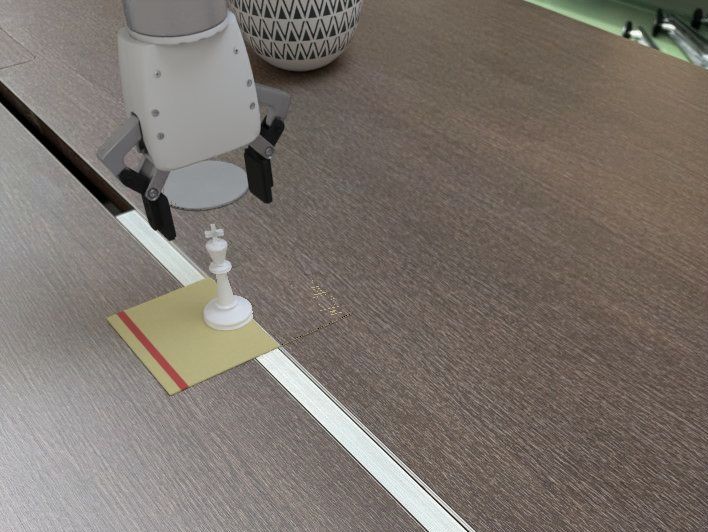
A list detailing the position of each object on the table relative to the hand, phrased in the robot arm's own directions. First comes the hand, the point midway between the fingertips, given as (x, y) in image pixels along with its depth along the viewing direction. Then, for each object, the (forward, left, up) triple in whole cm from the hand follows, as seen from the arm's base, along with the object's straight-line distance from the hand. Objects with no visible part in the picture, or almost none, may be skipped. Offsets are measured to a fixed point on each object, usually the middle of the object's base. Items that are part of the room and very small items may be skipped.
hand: (214, 215), depth 75 cm
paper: (0, 0, -11) cm, 11 cm away
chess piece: (0, 0, -11) cm, 11 cm away
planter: (+38, +46, -11) cm, 61 cm away
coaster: (+10, +24, -11) cm, 28 cm away
